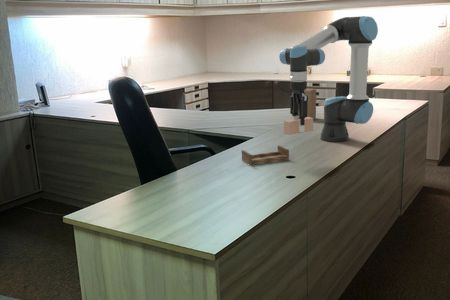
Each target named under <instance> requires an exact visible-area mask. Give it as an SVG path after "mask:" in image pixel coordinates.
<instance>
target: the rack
mask: <svg viewBox="0 0 450 300" xmlns="http://www.w3.org/2000/svg"><path fill="white" fill-rule="evenodd" d="M241 161H242V162H244V163H245V164H247V165H248V164H249V166H250V165H251V166H256V164H258V165H264V164H270V163H271V164H272V163H278V162H284V161H290V150H289V149H287V147H284V146H282V145H277V151H271V152H263V153H255V154H251V153H250V152H248V151H247V150H244V149H241Z"/></svg>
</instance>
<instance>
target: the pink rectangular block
mask: <svg viewBox="0 0 450 300" xmlns="http://www.w3.org/2000/svg"><path fill="white" fill-rule="evenodd" d="M283 125H284V126H283V132H284V133H283V134H285V135H288V136H292V135H297V134H302V133H303V134H304V133H308V132H312V131H314V119H313V118H311V117H306V118H305V132H300V133H299V124H298V119H293V118H292V119H287V120H283Z"/></svg>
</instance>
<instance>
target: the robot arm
mask: <svg viewBox="0 0 450 300" xmlns="http://www.w3.org/2000/svg"><path fill="white" fill-rule="evenodd" d="M378 29H379V28H378V23H377V21H375V19H374V18H373V17H372V16H367V15H366V16H364V15H363V16H345V17H341V18H338V19H336V20H334V21H332V22H331V23H328V24H327V25H326V26H324V27H323V29H322V30H321V31H318V32H317V33H315V34H313V35H311V36H310V37H308V38H306V39H305V40H303V41H301V42H299V43H298V44H296V45H293V46H291V47H290V48H283V49H282V50H280V52H279V56H278V57H279V60H280V61H279V62H280V63H281V64H283V65H287V66H289V68H290V70H289V76H290V77H289V78H290V79H289V80H290V83H289V88H290V90H291V91H292V92H291V93H289V105H290V106H289V114H290V115H291V116H292V119H298V124H299V133H298V134H301V133H300V132H303V133H306V132H305V118H306V117H307V104H308V96H305V93H304V90H306V89H307V88H308V81H307V80H308V67H313V66H316V67H317V66H320V65H322V64H323V63H325V60H326V54H325V51H324V50H323V49H322V48H324V47H325V46H327V45H329V44H333V43H336V42H339V41H340V42H341V41H348V46H350V67H349V68H350V70H349V89H348V90H349V92H348V95H347V96H343V95H342V96H333V97H327V98H325V100H324V105H323V110H324V111H323V127H322V129H321V132H320V140H322V141H325V142H333V143H334V142H335V143H337V142H346V141H348V140H349V139H350V138H349V131H348V128H347V124H346V123H352V124H355V125H365V124H367V123H368V122H369V121H370V120H371V118H372V116H373V113H374V105H373V103H372V102H370V97H369V96H368V95H367V85H368V84H367V83H368V68H369V65H368V64H369V50H370V47H371V46H372V44H373V41H374V40H376V38H377V36H378V33H379V32H378V31H379V30H378ZM300 101H301V102H300ZM298 109H299V114H298ZM298 115H299V116H298Z"/></svg>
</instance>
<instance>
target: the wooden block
mask: <svg viewBox="0 0 450 300" xmlns="http://www.w3.org/2000/svg"><path fill="white" fill-rule="evenodd" d="M304 93H305V96H308V104H307V117H311V118H313V120H314V119H316V118H317V116H316V115H317V114H316V113H317V89H316V88H308V87H307V89H306V90H304ZM300 102H301V101H300ZM298 114H299V109H298ZM298 116H299V115H298Z"/></svg>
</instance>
